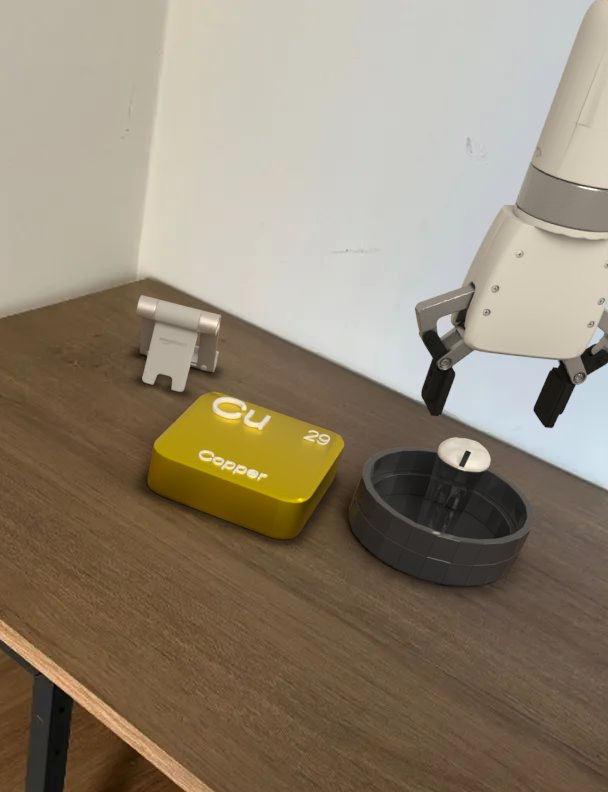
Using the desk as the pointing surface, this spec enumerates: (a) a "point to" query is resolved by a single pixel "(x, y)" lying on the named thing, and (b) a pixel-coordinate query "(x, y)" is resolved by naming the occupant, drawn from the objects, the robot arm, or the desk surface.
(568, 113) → the robot arm
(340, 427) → the desk surface
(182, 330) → the tablet stand
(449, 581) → the pan
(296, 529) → the element tile
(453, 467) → the milkshake
